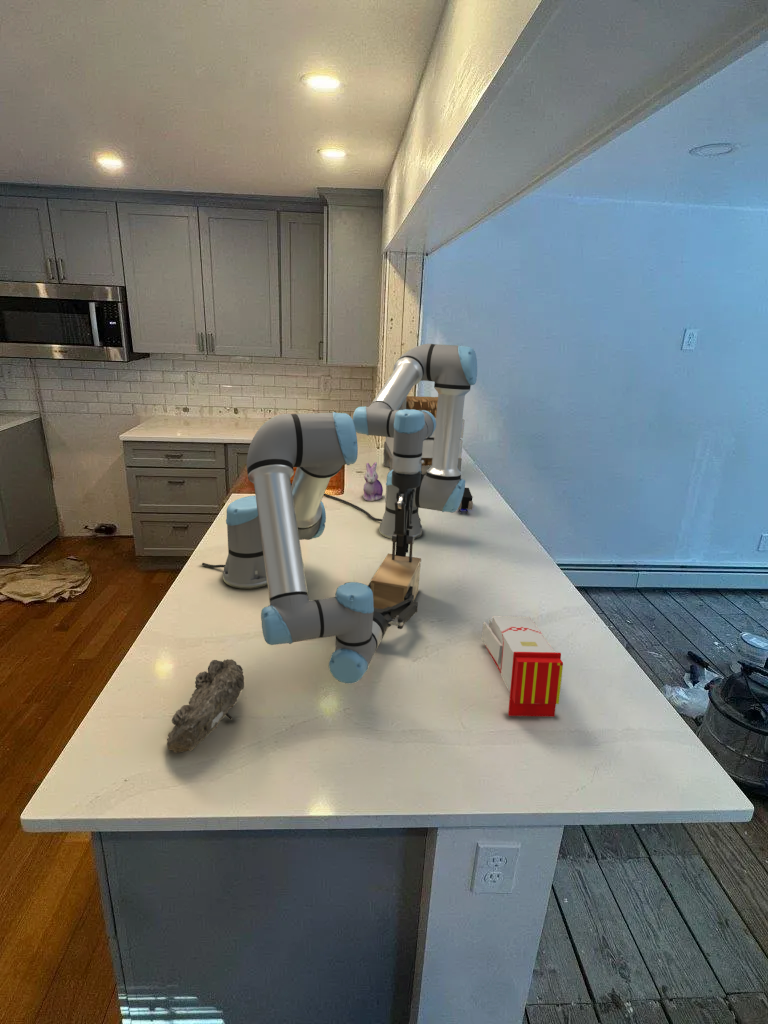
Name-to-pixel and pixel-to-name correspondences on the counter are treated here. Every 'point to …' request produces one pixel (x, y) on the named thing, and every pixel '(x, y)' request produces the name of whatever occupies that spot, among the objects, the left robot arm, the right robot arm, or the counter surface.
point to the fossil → (206, 705)
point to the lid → (397, 567)
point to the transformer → (427, 450)
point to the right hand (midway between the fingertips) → (401, 553)
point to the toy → (525, 665)
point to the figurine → (372, 484)
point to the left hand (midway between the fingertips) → (391, 587)
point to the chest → (393, 592)
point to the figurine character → (466, 501)
